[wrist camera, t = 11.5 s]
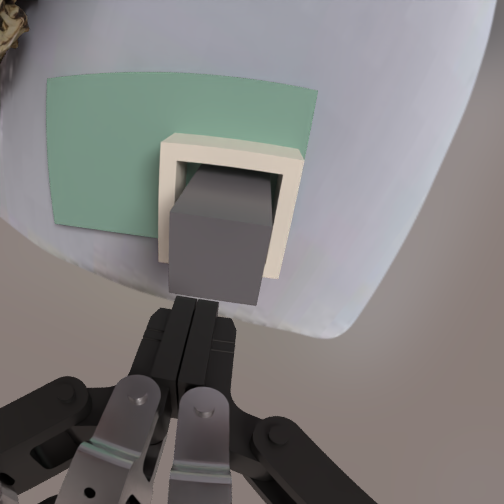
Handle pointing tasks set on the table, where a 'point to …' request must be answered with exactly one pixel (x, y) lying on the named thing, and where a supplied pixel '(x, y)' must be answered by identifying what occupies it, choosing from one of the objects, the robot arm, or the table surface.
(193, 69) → the table surface
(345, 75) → the table surface
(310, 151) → the table surface
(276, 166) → the frame
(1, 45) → the skull
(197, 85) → the board
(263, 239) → the plug
